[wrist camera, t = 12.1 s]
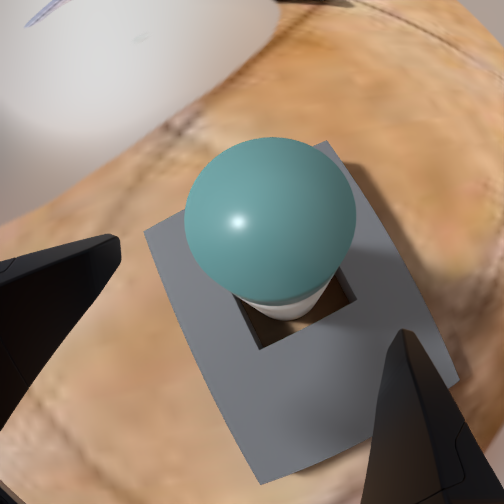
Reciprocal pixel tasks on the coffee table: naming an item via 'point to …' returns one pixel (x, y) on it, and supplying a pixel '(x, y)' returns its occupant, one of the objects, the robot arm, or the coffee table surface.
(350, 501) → the coffee table surface
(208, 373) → the socket board
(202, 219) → the peg
